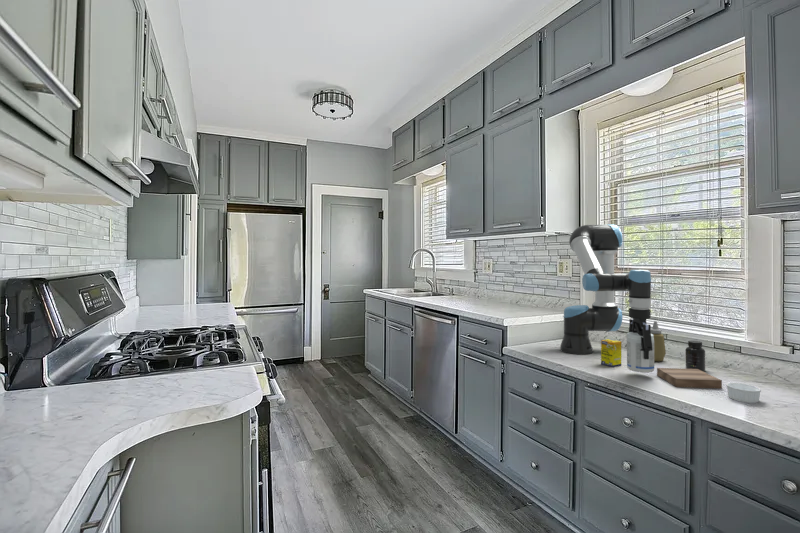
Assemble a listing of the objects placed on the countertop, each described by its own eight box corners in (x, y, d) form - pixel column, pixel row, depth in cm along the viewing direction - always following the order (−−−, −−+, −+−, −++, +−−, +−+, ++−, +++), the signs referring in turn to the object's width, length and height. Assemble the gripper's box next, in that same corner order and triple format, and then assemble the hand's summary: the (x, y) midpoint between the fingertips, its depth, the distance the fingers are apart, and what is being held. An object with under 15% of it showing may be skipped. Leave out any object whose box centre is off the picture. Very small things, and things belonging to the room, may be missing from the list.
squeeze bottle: (662, 363, 180) (662, 323, 179) (642, 360, 186) (642, 321, 185) (668, 360, 185) (668, 321, 185) (648, 357, 191) (648, 319, 191)
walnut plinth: (657, 375, 162) (657, 367, 162) (697, 376, 159) (697, 369, 159) (676, 387, 147) (676, 378, 147) (721, 388, 145) (721, 380, 145)
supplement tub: (658, 370, 160) (659, 334, 159) (647, 375, 154) (647, 337, 154) (633, 365, 168) (633, 330, 167) (621, 369, 162) (622, 333, 162)
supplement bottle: (687, 366, 174) (687, 339, 174) (706, 369, 169) (706, 341, 169) (683, 369, 169) (683, 341, 169) (703, 372, 164) (703, 344, 164)
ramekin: (750, 395, 138) (750, 383, 137) (767, 404, 129) (767, 391, 129) (720, 393, 140) (720, 381, 139) (735, 402, 131) (735, 389, 131)
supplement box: (600, 364, 179) (600, 340, 179) (609, 362, 182) (609, 338, 182) (613, 367, 174) (613, 342, 174) (621, 365, 177) (621, 341, 177)
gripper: (619, 304, 172) (618, 355, 172) (641, 312, 150) (641, 371, 151) (637, 304, 170) (637, 356, 171) (663, 312, 149) (662, 371, 149)
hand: (639, 363), depth 161 cm, fingers closed on supplement tub, 9 cm apart
